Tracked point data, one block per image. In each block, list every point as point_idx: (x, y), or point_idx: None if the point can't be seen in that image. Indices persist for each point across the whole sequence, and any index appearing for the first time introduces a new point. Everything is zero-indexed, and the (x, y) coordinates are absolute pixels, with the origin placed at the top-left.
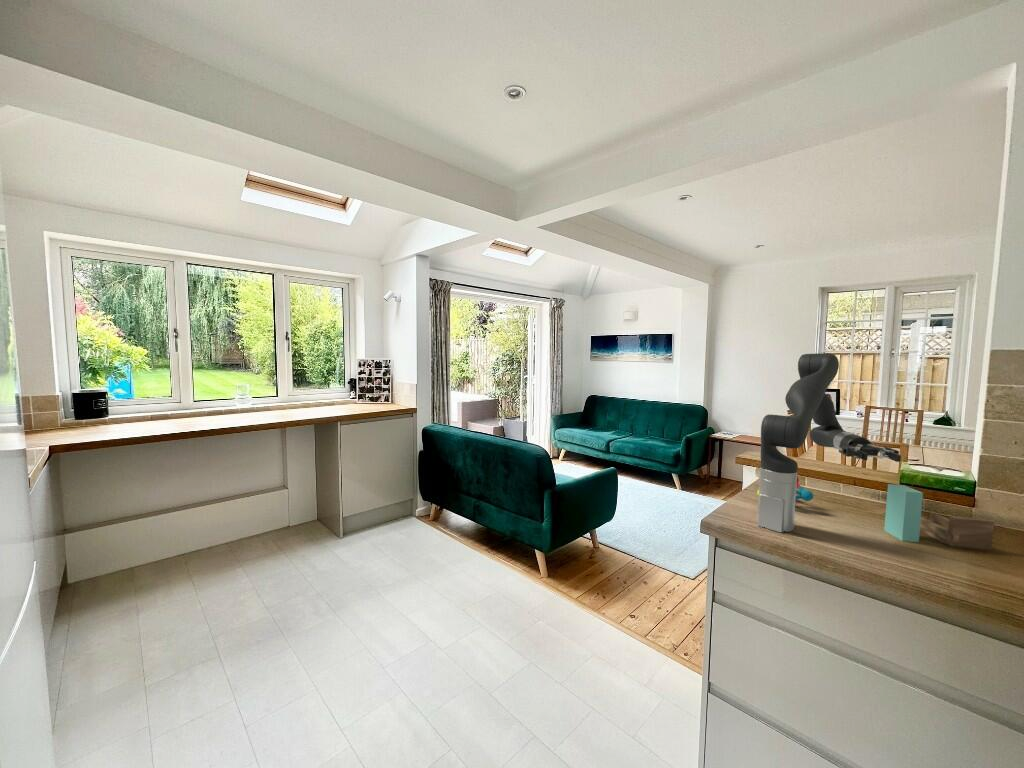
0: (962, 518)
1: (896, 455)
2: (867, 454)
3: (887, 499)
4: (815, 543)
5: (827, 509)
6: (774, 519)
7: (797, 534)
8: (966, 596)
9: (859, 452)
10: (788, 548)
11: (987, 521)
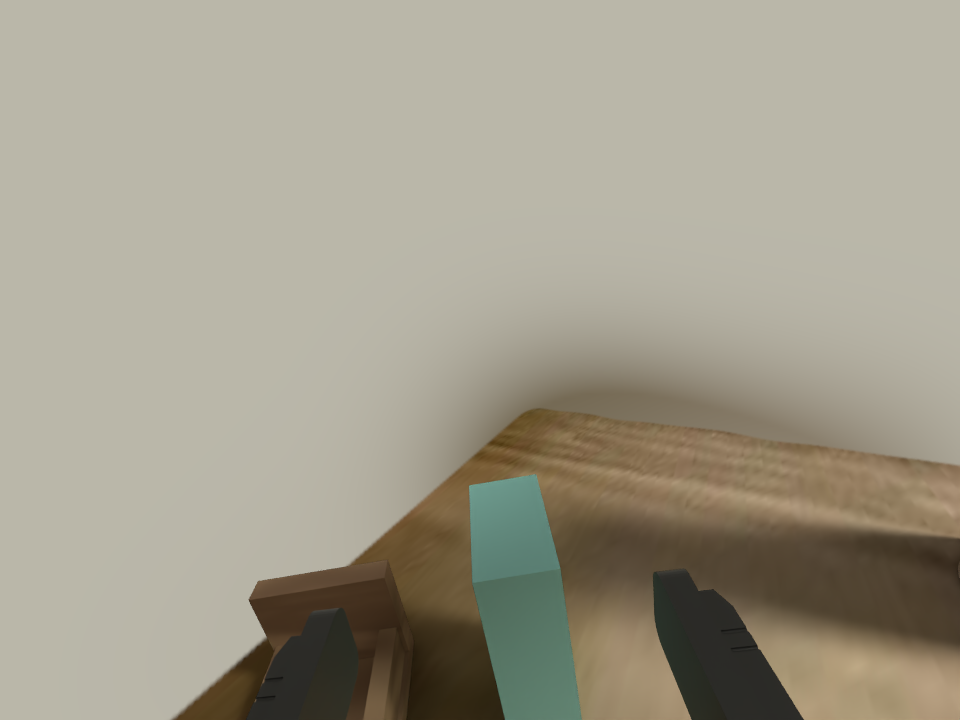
0: (354, 570)
1: (334, 629)
2: (656, 572)
3: (568, 633)
4: (839, 508)
5: None
6: None
7: (923, 552)
8: (566, 420)
9: (746, 685)
10: (892, 456)
11: (281, 578)
